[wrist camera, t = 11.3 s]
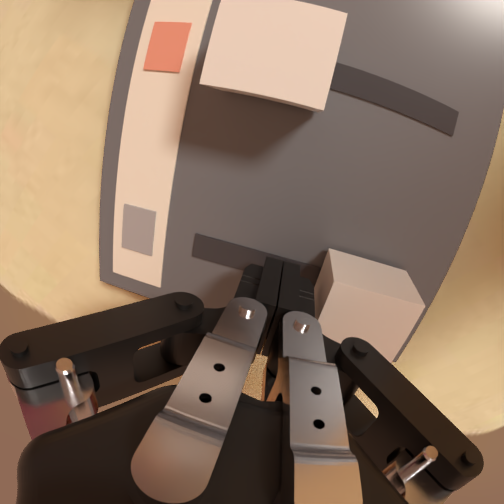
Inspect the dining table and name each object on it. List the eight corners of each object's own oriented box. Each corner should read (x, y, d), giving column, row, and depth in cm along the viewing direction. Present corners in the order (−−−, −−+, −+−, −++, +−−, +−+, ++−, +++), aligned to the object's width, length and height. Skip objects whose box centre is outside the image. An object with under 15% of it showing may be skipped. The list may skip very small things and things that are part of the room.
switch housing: (492, -36, 7) (512, -48, 5) (388, 335, 18) (396, 364, 16) (205, -111, 8) (192, -132, 5) (120, 262, 19) (98, 282, 17)
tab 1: (338, 35, 10) (347, 13, 7) (318, 112, 11) (323, 110, 9) (240, 15, 10) (224, -10, 7) (222, 90, 12) (199, 83, 9)
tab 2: (406, 270, 14) (425, 305, 11) (377, 328, 15) (387, 368, 12) (328, 248, 14) (334, 281, 11) (305, 310, 15) (304, 351, 13)
